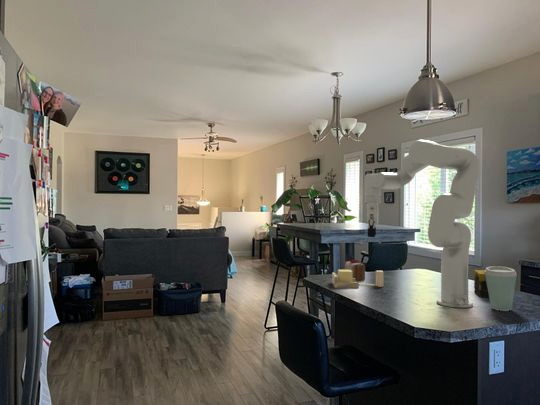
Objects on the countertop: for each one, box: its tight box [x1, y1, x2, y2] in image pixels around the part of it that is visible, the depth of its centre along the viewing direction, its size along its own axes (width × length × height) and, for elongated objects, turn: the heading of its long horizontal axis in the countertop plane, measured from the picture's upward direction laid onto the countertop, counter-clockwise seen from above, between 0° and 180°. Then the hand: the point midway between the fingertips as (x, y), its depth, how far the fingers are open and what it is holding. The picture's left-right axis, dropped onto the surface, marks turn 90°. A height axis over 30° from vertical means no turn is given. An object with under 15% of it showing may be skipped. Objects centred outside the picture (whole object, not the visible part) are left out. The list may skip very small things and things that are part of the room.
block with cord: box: [337, 269, 385, 288], centre depth 189 cm, size 6×20×7 cm, turn 86°
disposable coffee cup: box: [484, 265, 518, 312], centre depth 147 cm, size 11×11×15 cm
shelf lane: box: [331, 272, 360, 289], centre depth 189 cm, size 11×11×5 cm
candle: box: [473, 269, 490, 299], centre depth 170 cm, size 10×10×10 cm
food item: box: [344, 259, 366, 282], centre depth 208 cm, size 14×8×10 cm, turn 11°
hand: (371, 236), depth 190 cm, fingers open, 9 cm apart
